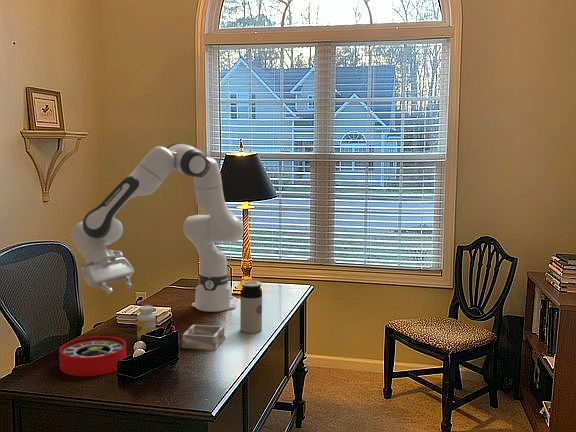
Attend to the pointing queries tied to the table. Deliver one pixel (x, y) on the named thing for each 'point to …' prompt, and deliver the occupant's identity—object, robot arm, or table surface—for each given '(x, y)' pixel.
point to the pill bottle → (145, 321)
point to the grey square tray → (203, 337)
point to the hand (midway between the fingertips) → (120, 290)
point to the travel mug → (251, 307)
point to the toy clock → (91, 355)
